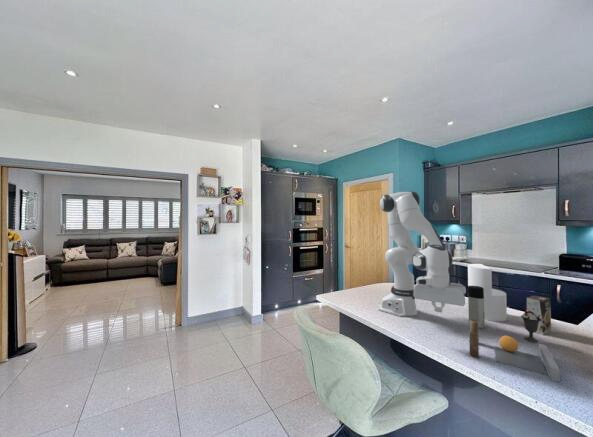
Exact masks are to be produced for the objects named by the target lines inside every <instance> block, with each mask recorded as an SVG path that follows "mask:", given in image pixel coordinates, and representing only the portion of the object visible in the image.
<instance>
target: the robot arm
mask: <svg viewBox="0 0 593 437" xmlns="http://www.w3.org/2000/svg"><path fill="white" fill-rule="evenodd" d="M379 199H380V200H379V207H380V209H381V210H382V211H383V212H385V213H387V222H388V229H389V234H390V238H391V239H392V240H393V241H394V242H395V244H396V246H395V247H392V248H389V249H388V250H386V252H385V255H384V258H385V261H386V263H387V264H388V265H389V266H390V267H391V270H392V272H393V273H392V274H393V281H394V282H393V283H394V284H393V285H392V286H391V287H390V293H388V294H386V295H385V296H383V298H382V299H381V303H379V304H378V305H377V310H378V311H381V312H384V313H386V314H387V313H388V314H391V315H393V316H394V315H395V316H398V317H413V316H416V315H418V308H417V305H416V300H422V301H429V302H431V305H432V306H433V308H434V312H437V313H442V314H443V308H444V307H445V305H446V304H447V305H453V306H460V307H464V306H465V305H466V297H465V294H466V293H467V289H466V286H465V285H463V284H462V283H460V282H459V283H456V282H451V281H450V273H449V270H450V268H451V267H452V265H453V263H454V259H453V256H452V254H451V252H450V251H449V250H448V249H447V247H446V246H445V244H444V242H443V240H442V239H441V237H440V235H439V233H438V232H437V230H436V228H435V226H434V225H433V223H432V222H430V221H429V220H428V219H426V217H425V216H424V214H423V213H422V211H421V208H420V206H419V205H420V202H421V201H420V196H419V194H418V193H417V192H416V191H411V190H410V191H397V192H394V193H390V194H387V193H386V194H384V195H382V196H381V197H380V198H379ZM410 231H412V232H415V233H418V234H421V235H422V236H424V237H425V238H426V240H427V242H428V243H429V245H428V246H427V247H426V248H423V249H420V248H419V247H418V246H417V245H416V244H415V243H414V240H413V238H412V236H411V232H410ZM409 265H413V266H414V268H416V269H417V270H419V271H426V275H424V276H423V275H422V276H418V277H416V280H415V276H414V274H413V273H412V272H411V271H410V268H409ZM415 282H416V284H415ZM436 303H440V305H441V306H437V305H436Z"/></svg>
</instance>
